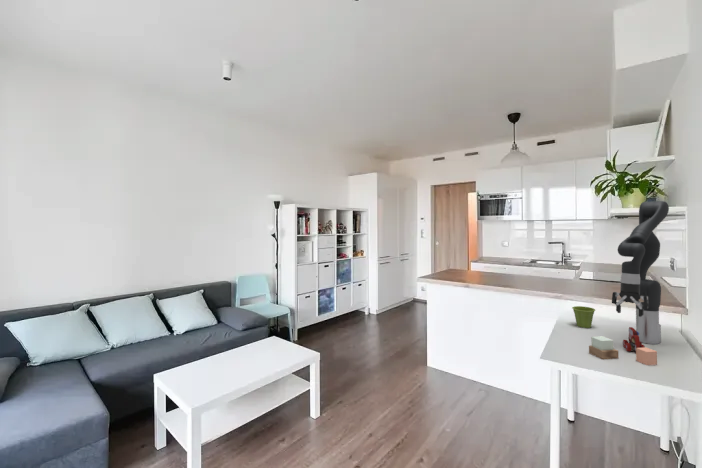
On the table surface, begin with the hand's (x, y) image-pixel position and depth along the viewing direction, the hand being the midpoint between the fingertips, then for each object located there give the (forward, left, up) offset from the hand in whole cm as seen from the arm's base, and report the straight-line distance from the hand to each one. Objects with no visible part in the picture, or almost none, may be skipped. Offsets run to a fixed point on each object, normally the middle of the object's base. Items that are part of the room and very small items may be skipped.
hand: (629, 314), depth 166 cm
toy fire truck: (-1, +2, -18) cm, 18 cm away
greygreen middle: (+20, +5, -14) cm, 25 cm away
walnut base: (+19, +6, -18) cm, 27 cm away
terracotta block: (+7, +16, -18) cm, 25 cm away
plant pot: (-7, -37, -18) cm, 42 cm away
